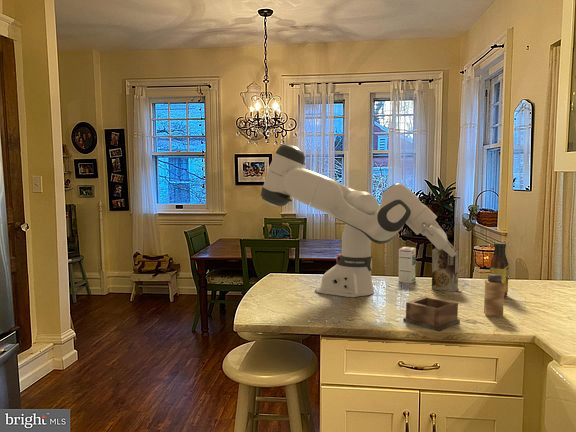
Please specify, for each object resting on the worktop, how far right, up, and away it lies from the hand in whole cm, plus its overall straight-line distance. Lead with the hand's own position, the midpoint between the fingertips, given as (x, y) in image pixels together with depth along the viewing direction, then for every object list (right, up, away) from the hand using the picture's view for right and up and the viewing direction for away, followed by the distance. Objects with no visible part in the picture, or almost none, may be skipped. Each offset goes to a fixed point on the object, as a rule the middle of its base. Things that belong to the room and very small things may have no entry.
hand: (453, 253), depth 145 cm
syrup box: (-4, -16, +44) cm, 47 cm away
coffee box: (+8, -17, +32) cm, 37 cm away
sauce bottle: (+25, -18, +22) cm, 38 cm away
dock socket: (-10, -20, -9) cm, 24 cm away
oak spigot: (+12, -20, -2) cm, 23 cm away
